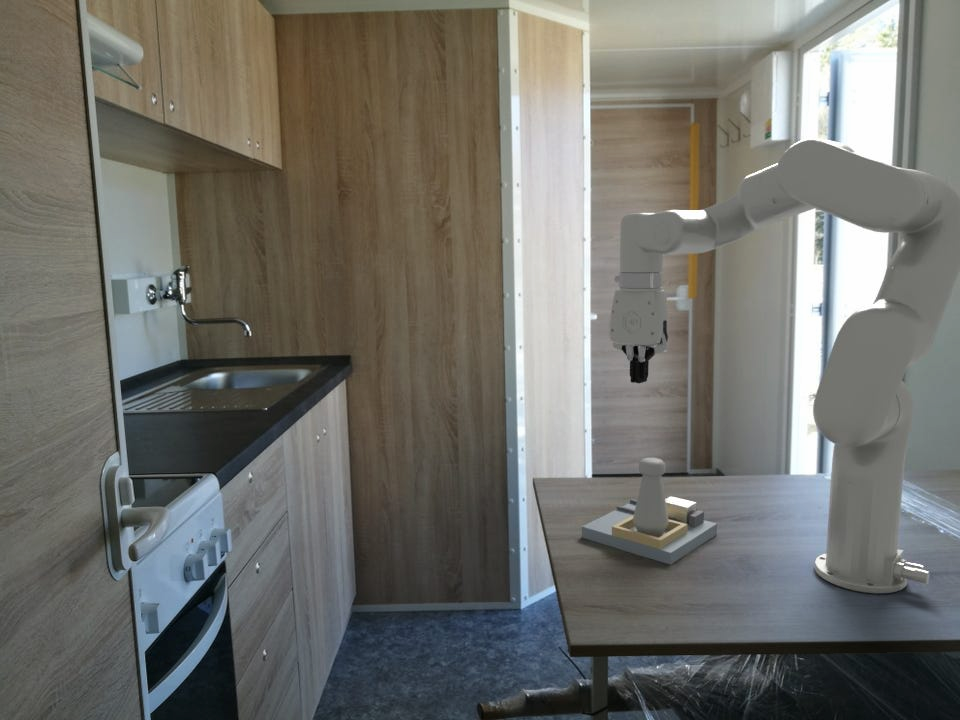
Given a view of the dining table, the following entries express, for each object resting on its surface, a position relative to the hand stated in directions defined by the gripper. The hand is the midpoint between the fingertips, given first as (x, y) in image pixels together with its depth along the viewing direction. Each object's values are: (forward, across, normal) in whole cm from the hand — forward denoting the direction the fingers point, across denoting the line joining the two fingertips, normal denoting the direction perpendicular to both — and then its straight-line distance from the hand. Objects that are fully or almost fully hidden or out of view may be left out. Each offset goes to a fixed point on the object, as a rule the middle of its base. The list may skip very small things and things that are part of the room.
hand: (638, 381), depth 138 cm
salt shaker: (+23, +10, -12) cm, 28 cm away
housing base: (+25, +8, -9) cm, 28 cm away
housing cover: (+23, +11, -4) cm, 25 cm away
